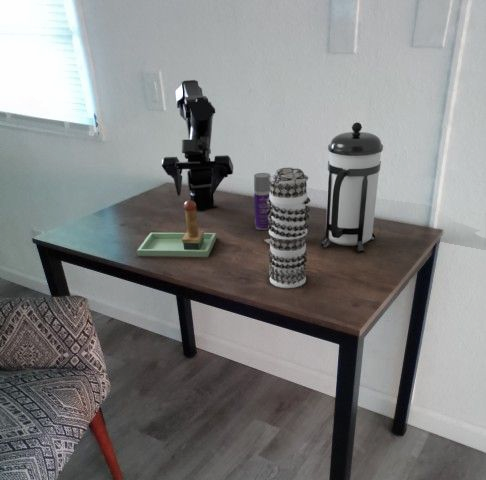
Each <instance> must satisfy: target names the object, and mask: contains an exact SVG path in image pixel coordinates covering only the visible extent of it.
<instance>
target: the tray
mask: <svg viewBox="0 0 486 480" xmlns="http://www.w3.org/2000/svg"><path fill="white" fill-rule="evenodd" d="M185 234H186V232H150V233H149V234H148V235H147V237H146V238H145V239H144V241H143V242H142V243H141V245H139V247H138V249H136V253H137V256H138V257H186V258H187V257H193V258H195V257H196V258H208V257H210V253H211V251H212V249H213V247H214V245H215V242H216V241H217V232H204V235H203V238H204V243H203V245H202V247H201V249H200V250H184V245H183V243H182V238H183V237H184V235H185Z"/></svg>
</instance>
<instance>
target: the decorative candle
mask: <svg viewBox="0 0 486 480" xmlns="http://www.w3.org/2000/svg"><path fill="white" fill-rule="evenodd" d="M269 180H270V193H269V197H268V200H267V201H266V202H267V206H268V207H267V209H268V210H267V212H268V213H269V216H268V228H269V229H268V234H269V236H270V239H271V244H269V251H268V256H269V260H268V262H269V263H270V264H269V266H268V270H269V272H268V273H269V274H268V275H269V282H270V283H271V284H272V285H273V286H274V287H278V288H281V289H294V288H295V289H296V288H298V287H301V286H303V285H304V284H306V281H307V277H306V276H307V268H308V267H307V264H306V263H307V260H308V259H307V255H308V251H307V244H306V235H307V234H308V228H309V224H308V223H307V222H306V221H307V220H308V219H309V218H310V215H309V214H308V213H309V212H310V207H309V206H307V205H308V204H310V202H311V199H310V197H308V191H307V187H308V186H307V181H308V180H309V176H308V175H306V174H305V173H304V171H303V170H302V169H300V168H298V167H282V168H278V169H276V170H275V171H274V173H273V174H272V175H270V178H269ZM270 201H271V203H270ZM270 209H271V211H270Z"/></svg>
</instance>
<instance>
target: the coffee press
mask: <svg viewBox="0 0 486 480" xmlns="http://www.w3.org/2000/svg"><path fill="white" fill-rule="evenodd" d="M362 129H363V126H362V124H361V123H360V122H359V121H358V122H354V123H353V124H352V125H351V130H352V131H347V132H343V133H339V134H337V135H335V136H334V137H333V138H332V139H331V141H330V143H329V144H328V146H327V150H328V153H329V154H328V161H327V173H328V177H327V196H326V215H325V216H326V218H325V236H324V238H323V239H322V240H321V243H320V244H321V246H322V247H323V248H325V249H326V248H328V247H329V246H330V245H331V244H332V243H334V244H337V245H340V246H353V247H354V248H355V251H356V253H357V254H363V253H364V252H365V248H364V244H365V243H367V242H368V241H374V240H375V239H376V236H375V233H374V232H373V231H374V221H375V215H376V214H375V213H376V204H377V194H378V185H379V174H380V171H381V164H382V161H381V155H382V152H383V150H384V145H383V144H382V140H381V139H380V137H379V136H377V135H376V134H374V133H370V132H365V131H361V130H362Z"/></svg>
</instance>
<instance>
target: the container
mask: <svg viewBox="0 0 486 480" xmlns="http://www.w3.org/2000/svg"><path fill="white" fill-rule="evenodd" d="M270 177H271V174H270V173H268V172H258V173H254V175H253V196H254V225H255V229H256V230H259V231H269V228H268V216H269V213H268V212H267V210H268V209H267V207H268V206H267V202H266V201H267V200H268V197H269V193H270V180H269V178H270ZM270 203H271V201H270ZM270 211H271V209H270Z"/></svg>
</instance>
